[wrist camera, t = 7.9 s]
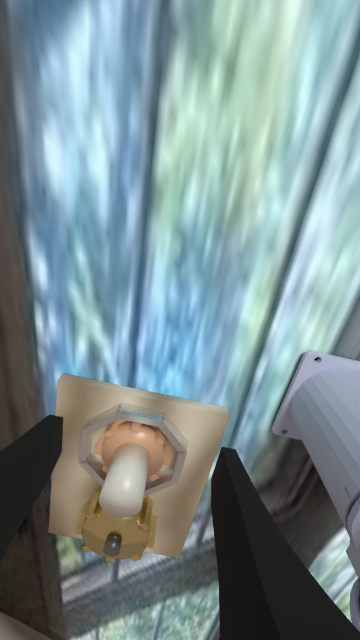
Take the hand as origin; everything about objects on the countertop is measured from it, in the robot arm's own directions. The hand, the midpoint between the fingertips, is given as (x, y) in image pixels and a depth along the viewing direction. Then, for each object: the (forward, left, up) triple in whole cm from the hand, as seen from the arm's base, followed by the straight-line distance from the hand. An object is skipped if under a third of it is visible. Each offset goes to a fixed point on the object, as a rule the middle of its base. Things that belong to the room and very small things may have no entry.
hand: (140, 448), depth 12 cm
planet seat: (+1, +9, -9) cm, 13 cm away
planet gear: (+1, +9, -8) cm, 12 cm away
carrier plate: (+1, +14, -9) cm, 16 cm away
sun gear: (+1, +17, -8) cm, 19 cm away
